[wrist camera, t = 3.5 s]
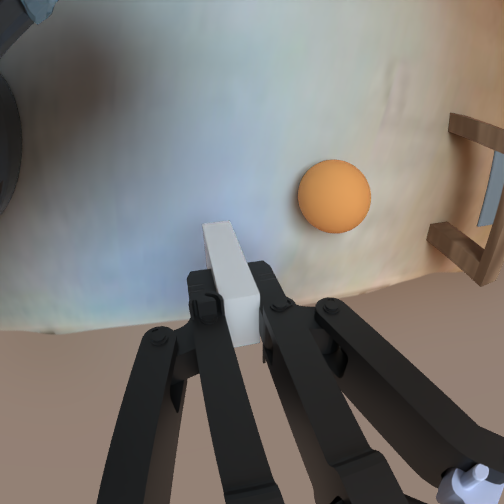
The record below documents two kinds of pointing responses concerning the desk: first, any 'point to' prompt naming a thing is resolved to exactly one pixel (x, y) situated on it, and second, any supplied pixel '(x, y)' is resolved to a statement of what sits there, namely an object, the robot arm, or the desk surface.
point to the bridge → (500, 239)
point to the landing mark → (493, 191)
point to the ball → (334, 196)
